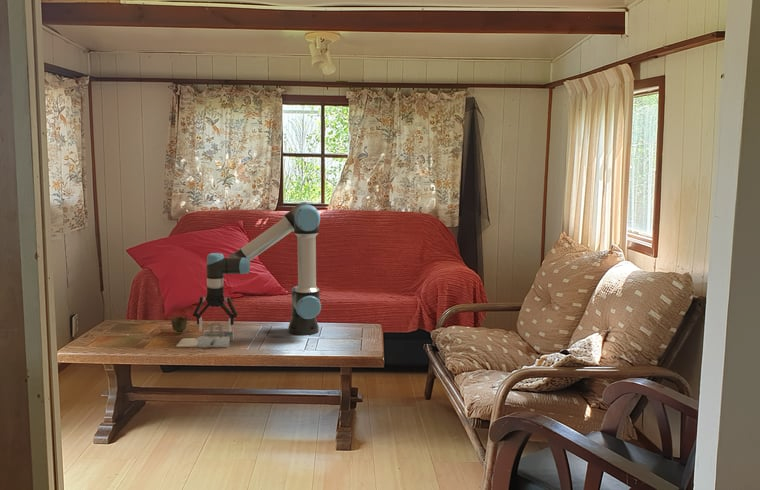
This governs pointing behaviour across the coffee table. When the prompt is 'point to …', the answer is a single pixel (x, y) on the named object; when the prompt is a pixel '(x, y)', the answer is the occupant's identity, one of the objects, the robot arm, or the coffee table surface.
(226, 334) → the vise
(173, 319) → the cup
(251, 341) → the coffee table surface
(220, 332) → the padlock
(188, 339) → the pad
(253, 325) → the coffee table surface
